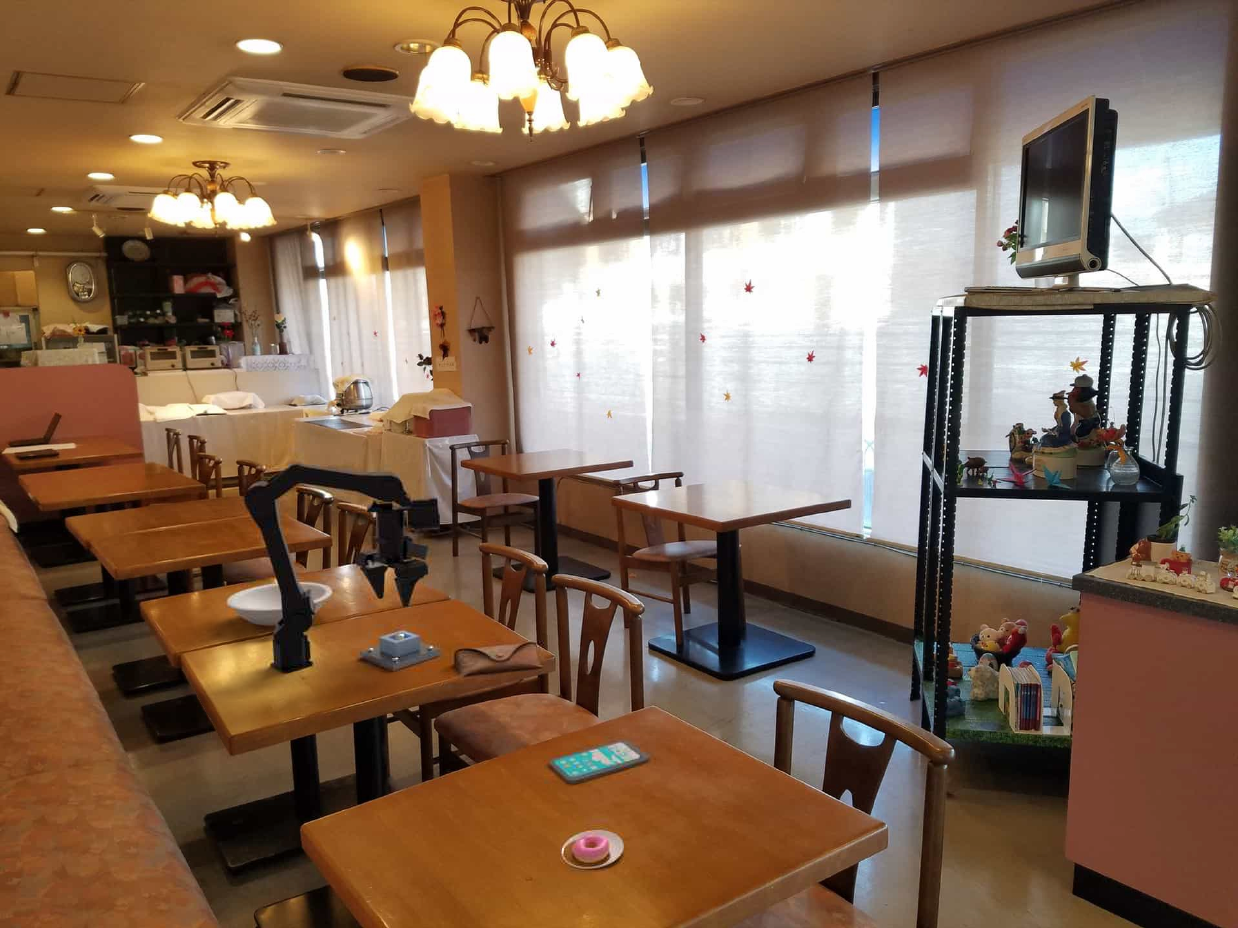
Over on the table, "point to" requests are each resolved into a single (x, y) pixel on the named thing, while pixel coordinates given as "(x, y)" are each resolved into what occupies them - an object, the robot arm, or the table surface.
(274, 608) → the soup bowl
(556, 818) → the table surface
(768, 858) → the table surface
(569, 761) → the smartphone
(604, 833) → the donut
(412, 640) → the blue square ring
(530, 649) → the sunglasses case
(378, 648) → the keeper plate
